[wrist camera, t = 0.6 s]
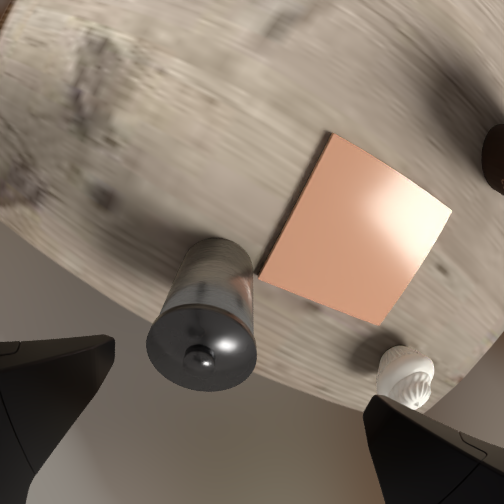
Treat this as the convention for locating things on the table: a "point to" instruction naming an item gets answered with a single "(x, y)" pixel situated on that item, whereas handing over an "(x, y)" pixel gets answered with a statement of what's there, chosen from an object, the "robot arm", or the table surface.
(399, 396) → the muffin
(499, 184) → the coffee mug
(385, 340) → the table surface
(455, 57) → the table surface
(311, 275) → the plate
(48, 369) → the robot arm
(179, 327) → the press pot
